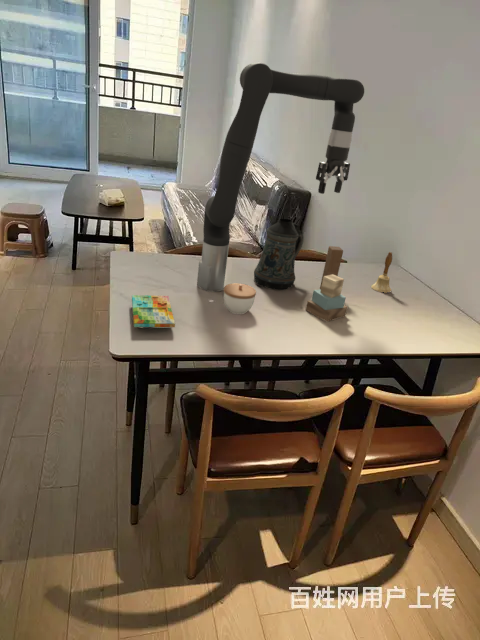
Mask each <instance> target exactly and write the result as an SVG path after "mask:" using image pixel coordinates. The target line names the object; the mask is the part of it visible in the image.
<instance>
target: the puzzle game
mask: <svg viewBox="0 0 480 640" xmlns="http://www.w3.org/2000/svg"><path fill="white" fill-rule="evenodd" d="M131 306H132V309H131V310H132V321H133V328H137V327H170V328H175V327H176V323H175V322H176V321H175V319H174V313H173V309H172V305H171V301H170V297H169V295H149V294H147V295H146V294H144V295H141V294H139V295H138V294H132V295H131Z"/></svg>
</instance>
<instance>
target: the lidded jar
mask: <svg viewBox="0 0 480 640" xmlns="http://www.w3.org/2000/svg"><path fill="white" fill-rule="evenodd" d="M256 295H257V291H256V289H255V287H252V286H250V285H248V284H244V283H233V282H232V283H229V284H226V285H224V289H223V303H224V305H225V308H227V310H228V312H230V313H232V314H235V315H245V314H246V313H247V312H248V311H249V310H250V309H251V308H252V306H253V305H254V302H255V299H256Z"/></svg>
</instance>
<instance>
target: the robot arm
mask: <svg viewBox="0 0 480 640" xmlns="http://www.w3.org/2000/svg"><path fill="white" fill-rule="evenodd" d="M240 72H241V73H239V74H240V75H239V84H240V87H241V89H242V93H241V98H240V102H239V106H238V109H237V111H236V114H235V116H234V118H233V120H232V122H231V124H230V126H229V128H228V131H227V133H226V137H225V140H224V143H223V146H222V151H221V155H220V156H221V157H220V163H219V164H220V165H219V178H218V184H217V188H216V190H215V193H214V195H213V196H210V198H208V200H206V203H205V208H204V217H203V229H202V230H203V240H202V250H201V251H202V252H201V260H200V261H199V262H198V267H197V268H198V269H197V271H198V272H197V279H196V280H197V281H196V286H197V287H199V288H200V289H201V290H203V291H205V292H220V291H224V287H225V281H226V271H227V263H228V255H229V249H230V247H229V246H230V239H231V238H230V237H231V235H230V224H231V222H232V221H233V219H234V217H235V213H236V208H237V202H238V197H239V192H240V187H241V185H242V182H243V180H244V176H245V173H246V171H247V168H248V164H249V161H250V159H251V156H252V155H251V154H252V151H253V149H254V148H253V147H254V143H255V140H256V136H257V132H258V129H259V122H260V119H261V115H262V112H263V111H264V110H263V109H264V107H265V105H266V101H267V99H268V97H269V95H270V94H279V95H287V96H293V97H297V98H303V99H308V100H316V101H333V102H334V105H333V107H334V108H333V110H334V115H333V119H332V126H331V130H330V132H329V133H330V134H329V137H328V141H327V147H326V150H325V151H326V153H325V158H326V162H324V161H319V163H318V166H317V167H318V168H317V172H316V176H315V180H317V181H319V184H318V190H317V191H318V192H317V193H318V194H322V195H323V194H325V191H326V188H327V187H326V186H327V182H328V180H329V179H331V178H332V177H335V179H336V181H335V186H334V191H333V192H334V193H336V194H340V193H341V190H342V188H343V187H342V186H343V183H344V181H347V180H348V179H349V173H350V172H349V171H350V167H351V163H349V162H346V161H347V160H348V159H349V158H348V157H349V152H350V148H351V143H352V137H353V130H354V127H355V122H356V121H355V120H356V116H355V114H354V104H357V103H359V102H360V101H362V99H363V97H364V95H365V86H364V85H363V83H362V82H361V81H359V80H357V79H354V78H353V79H351V78H340V77H339V78H336V77H331V76H327V75H320V74H312V73H297V72H296V73H295V72H294V73H293V72H284V71H278V70H273V69H272V68H270V66H268V65H267V64H266V63H263V62H252V63H249V64H247V65H246V66H245V67H244V68H243V69H242V71H240Z"/></svg>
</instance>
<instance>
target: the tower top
mask: <svg viewBox="0 0 480 640" xmlns="http://www.w3.org/2000/svg"><path fill="white" fill-rule="evenodd" d="M320 291H321V289H320V288H319V289H314V290H313V291H312V294H311V295H312V296H311V299H310V300H311V301H313V302H314V303H316V304H317V305H319V306H320V307H322V308H323V309H324V310H330V309H338V308H343V307H344V305H345V303H346V299H347V297H346V296H345V295H343V294H341V295H340V296H336V297H333V298H331V297H328V296H326V295H324V294H322V293H320Z"/></svg>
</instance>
